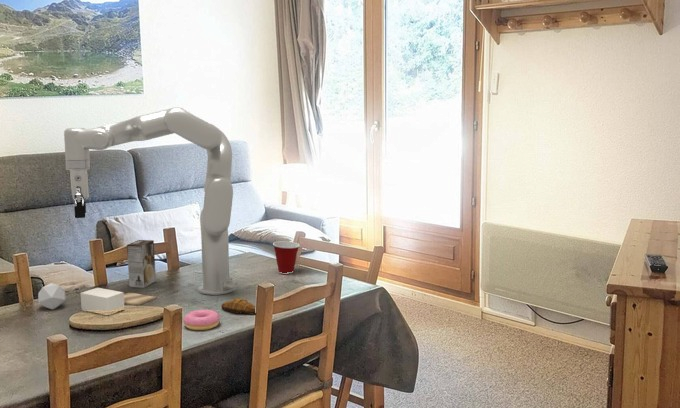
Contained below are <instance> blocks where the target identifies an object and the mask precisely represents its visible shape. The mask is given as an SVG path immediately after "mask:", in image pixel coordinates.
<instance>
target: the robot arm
mask: <svg viewBox="0 0 680 408" xmlns="http://www.w3.org/2000/svg"><path fill="white" fill-rule="evenodd" d="M173 134H175V135H177V136H178V137H181V138H182V139H185V140H186V141H188V142H190V143H192V144H193V145H197V146H198V147H200V148H202V149H203V150H206V153H207V162H206V163H207V164H206V173H205V174H206V175H205V181H204V184H203V189H204V190H203V191H204V197H203V198H204V199H203V207H202V210H201V212H200V214H199V222H200V223H199V224H200V236H201V237H200V239H201V240H200V241H201V242H200V244H201V267H202V268H201V269H202V270H201V271H202V285H201V286H199V287H198V293H200V294H203V295H208V296H219V295H225V294H226V295H227V294H229V293H232V292H233V291H235V290H236V289H237V286H238V283H237V282H234V281H233V278H232V277H230V256H229V253H230V252H229V249H230V248H229V243H230V242H229V227H230V223H231V216H232V208H233V207H232V206H233V198H234V188H233V184H232V182H231V176H232V166H233V165H232V163H233V151H232V149H233V148H232V146H231V143H230V141H229V139H228V137H227V136H226V135H225V133H224V132H223V131H222V130H221V129H220V128H218V127H217V126H215V125H214V124H212V123H209V122H208V121H205V120H204V119H202V118H200V117H198V116H196V115H195V114H192V113H191V112H190V111H187V110H186V109H184V108H183V107H178V106H177V107H171V108H167V109H162V110H158V111H155V112H151V113H150V112H149V113H146V114H142V115H138V116H135V117H132V118H130V119H127V120H123V121H120V122H115V123H111V124H107V125H102V126H97V127H94V128H87V129H86V128H85V127H68V128H66V129H65V130H64V133H63V136H64V138H63V139H64V154H65V170H66V171H69V174H70V177H69V178H70V189H71V195H72V200H74V206H73V207H74V218H75V219H84V218H86V213H87V204H86V203H87V202H86V201H85V200H88V199H89V196H90V194H89V177H88V170H91V161H90V150H94V151H105V150H106V149H108V148H110V147H115V146H119V145H122V144H127V143H132V142H144V141H149V140H153V139H156V138H160V137H164V136H169V135H173Z"/></svg>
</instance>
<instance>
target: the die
mask: <svg viewBox="0 0 680 408" xmlns="http://www.w3.org/2000/svg"><path fill="white" fill-rule="evenodd" d="M37 295H38V304H40V305H41V306H42V307H44V308H46V309H48V310H51V311H54V310H55V309H57V308H58V307H60V306H62V304H63V303H64V302H65V301H66V290H65V289H64V288H63V287H62V286H61V285H60V284H56V283H53V282H50V283H48V284H46V285H45V286H42V288H41V289H40V290H39V292H37Z"/></svg>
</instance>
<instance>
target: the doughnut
mask: <svg viewBox="0 0 680 408" xmlns="http://www.w3.org/2000/svg"><path fill="white" fill-rule="evenodd" d="M183 318H184V319H183V323H184V326H185V327H186V328H188V329H189V330H192V331H207V330H210V329H214V328H216V327H217V326H218V325H219V323H220V320H221V316H220V314H219V312H217V311H215V310H212V309H198V310H197V309H196V310H192V311H190V312H188V313H186V314H185V316H184V317H183Z"/></svg>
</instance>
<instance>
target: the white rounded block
mask: <svg viewBox="0 0 680 408" xmlns="http://www.w3.org/2000/svg"><path fill="white" fill-rule="evenodd" d="M124 294H125V293H124V292H123V291H118V290H113V289H107V288H101V287H95V288H92V289H89V290H85V291H83V292H80V303H81V304H80V305H81V307H80V308H81V312H86V310H102V311H111V310H113V309H116V308H119V307H123V306H124V307H125V303H124Z"/></svg>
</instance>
